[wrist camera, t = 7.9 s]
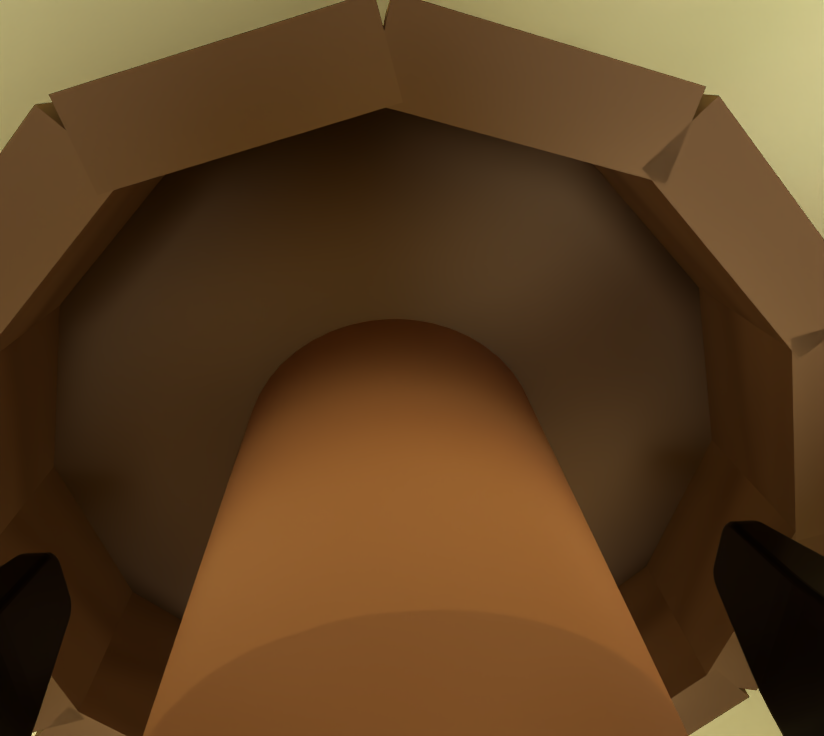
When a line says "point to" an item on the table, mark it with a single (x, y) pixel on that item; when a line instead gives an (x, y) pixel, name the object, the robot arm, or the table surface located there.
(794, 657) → the robot arm
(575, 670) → the cylinder
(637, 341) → the round tray
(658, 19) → the table surface
